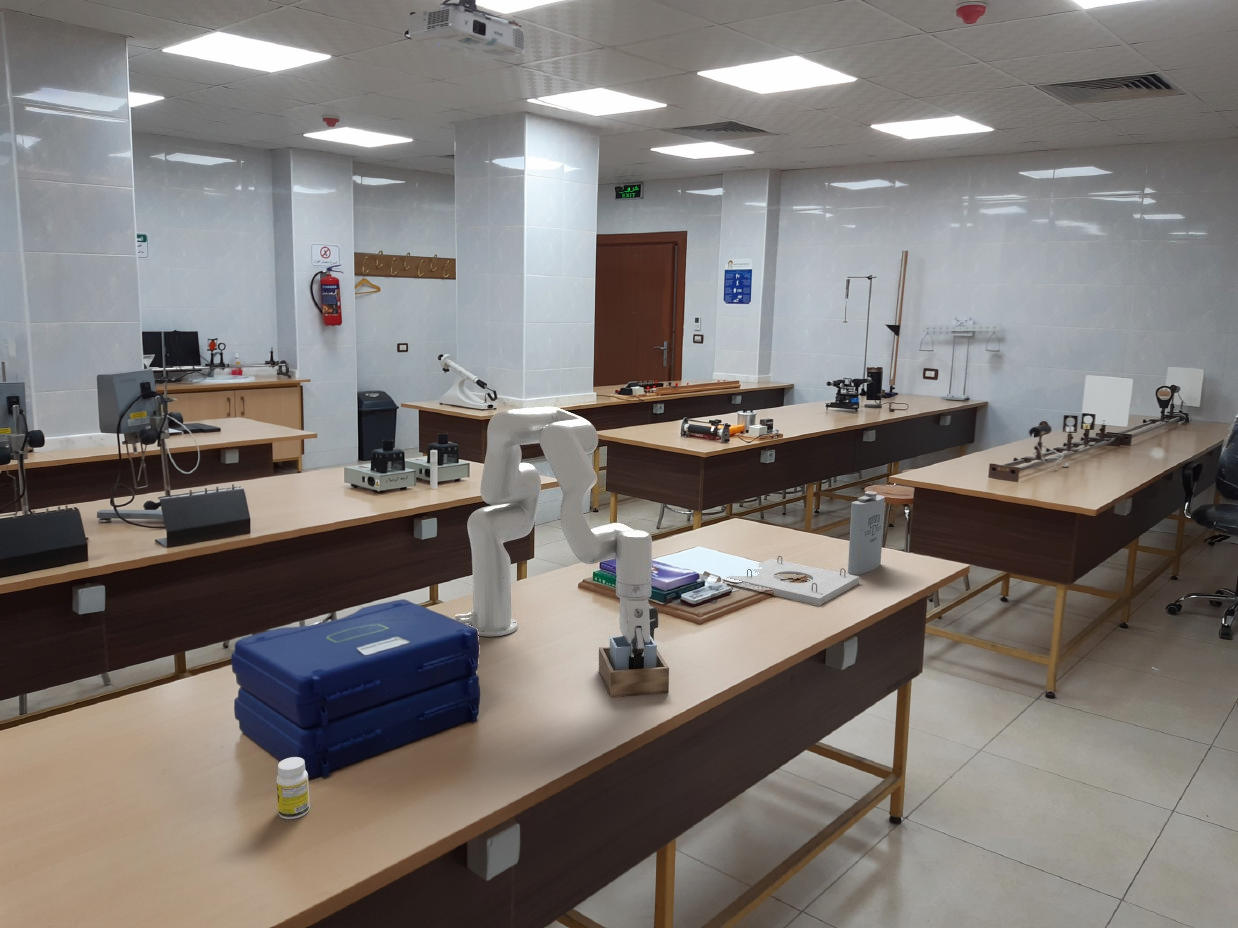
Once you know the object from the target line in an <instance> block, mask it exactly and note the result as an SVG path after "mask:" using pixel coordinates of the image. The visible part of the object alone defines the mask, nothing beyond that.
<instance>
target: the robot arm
mask: <svg viewBox="0 0 1238 928" xmlns="http://www.w3.org/2000/svg"><path fill="white" fill-rule="evenodd" d="M486 439H487V440H486V443H487V444H486V445H487V446H486V454H485V457H484V463H483V470H482V474H481V482H480V492H479V493H480V497H481V498H482V500H483V501H484V503H486V504H488V506H484V507H481V508H478V509H476V510H475V511H473V512H472V513H471V514H470V515H469V517H468V519H467V525H466V526H467V528H466V529H467V532H468V533H467V534H468V538H469V542H470V549H471V563H472V564H471V565H472V567H471V569H472V601H473V602H472V605H473V606H472V607H473V608H471V611H469V612H467V613H455V615H454V617H455V619H456V620H457V621H459V623H460V622H462V623H464V624H467V626H468V625H471V626H473V627H474V628H477V629H478V632H479V637H487V638H488V637H490V638H491V637H492V638H493V637H501V636H506V635H509V634H511V633H514V632H515V631H516V630H517V629H518V621H517V620H516V619H515V618H513V617H512V579H511V578H512V572H511V571H512V570H511V569H512V566H511V563H512V562H511V557H510V555H509V552H508V551H507V550H506V548H505V547H504V543H507V542H509V541H514V540H517V539H521V538H524V537H526V536H528V535H529V534H530V533H531V532H532V529H533V528H534V525H535V521H536V516H537V512H538V507H539V502H540V498H541V497H540V496H541V492H542V479H541V476H540V473H539V471H538V469H537V468H536V467H535V466H534V465H533V464H531V463H529V462H521V461H522V448H521V446H523V445H531V444H532V445H533V444H534V445H535V444H539V446H540V448H541V450H542V452H543V454H544V457H545V459H546V461H547V463H548V464H549V466H550V468H551V471H552V472H553V475H554V477H555V479H556V481H557V484H558V485H559V487H560V490H561V491H562V499H561V505H560V526H561V530H562V532H563V535H564V537H565V539H566V541H567V543H568V546H569V547H570V549H571V552H572V553H573V555H575V557H576V558H577V559H578V561H580V562H581V563H584V564H585V565H593V564H599V563H601V562H605V561H607V560H608V561H609V560H613V559H616V567H615V569H616V570H615V571H616V572H615V573H616V576H615V577H616V578H615V579H616V581H615V595H616V597H618V598H619V630H620V632H621V635H622V636H624V638H625V640H626V641H627V643H628V644H630V656H629V670H630V669H644V643H643V640H644V641H645V643H649V642H650V618H649V605H650V604H649V598H651V596H652V571H653V569H652V567H653V566H652V565H653V564H652V563H653V562H652V561H653V560H652V556H653V555H652V554H653V538H652V535H651V534H650V533H649V532H647V531H645V530H641V529H633V528H632V527H629V526H627V525H626V524H623V523H620V522H612V523H607V524H602V525H598V526H595V527H590V524H589V523H588V521H587V520H586V517H585V514H584V511H583V501H584V497H585V495H586V493H588V492H589V491H590V490H592V488H593V487H594V486H595V485H596V484H597V482H598V476H597V473H596V471H595V469H594V467H593V465H592V463H591V461H590V459H589V457H588V455H590V454H591V453H593V452H595V450H596V449H597V446H598V445H599V435H598V432H597V430H596V427H595V426H594V425H593V424H592V423H591V422H590V421H589V420H587V419H586V418H584V417H582V416H579V415H577V414H575V413H571V412H569V411H566V410H564V409H561V408H559V407H556V406H555V407H554V406H540V407H525V408H523V407H521V408H514V409H506V410H501V411H498V412H497V413H495V414H493V416H492V417H491V418H490V420H489V421H488V425H487V431H486ZM632 640H636V642H632ZM633 645H637V646H636V648H635V649H634V651H633Z"/></svg>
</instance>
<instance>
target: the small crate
mask: <svg viewBox="0 0 1238 928" xmlns="http://www.w3.org/2000/svg"><path fill="white" fill-rule="evenodd" d="M632 642H636V640H632ZM643 643H644V668H656V660H657V650H658V648H657V647H658V645H657V644H656V642H655V639H654V640H653V639H652V637H651V636H650V642H649V643H645V641H644V640H643ZM636 646H637V645H633V651H634V649H635V648H636ZM609 647H610V655H609V662H610V664H611V666H612V668H613V670H614V671H617V670H629V656H630V644H628V643H627V641H626V640H625V638H624V636H623V635H622V636H621V635H620V636H619V635H618V636H610V637H609Z"/></svg>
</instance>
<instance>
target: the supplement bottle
mask: <svg viewBox="0 0 1238 928" xmlns="http://www.w3.org/2000/svg"><path fill="white" fill-rule="evenodd" d="M277 774H278V775H277V776H276V779H275V780H276V795H277V796H276V797H277V811H278V816H279V817H280V818H282V819H284V820H296V819H299V818H301V817H304V816H305V815H306V814H308V813H309V811H310V807H311V804H310V788H309V787H310V785H309V774H308V771H307V770H306V763H305V759H304V758H302V757H300V756H299V757H298V756H292V757H287V758H285V759H283V760H282V759H281V760H280V761H279V762H278V765H277Z"/></svg>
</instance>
